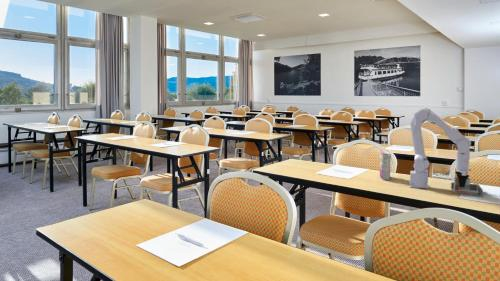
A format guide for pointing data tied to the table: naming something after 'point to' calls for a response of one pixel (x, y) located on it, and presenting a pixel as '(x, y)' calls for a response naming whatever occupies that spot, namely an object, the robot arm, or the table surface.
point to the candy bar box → (385, 165)
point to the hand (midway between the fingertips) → (461, 186)
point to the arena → (474, 190)
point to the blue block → (457, 187)
